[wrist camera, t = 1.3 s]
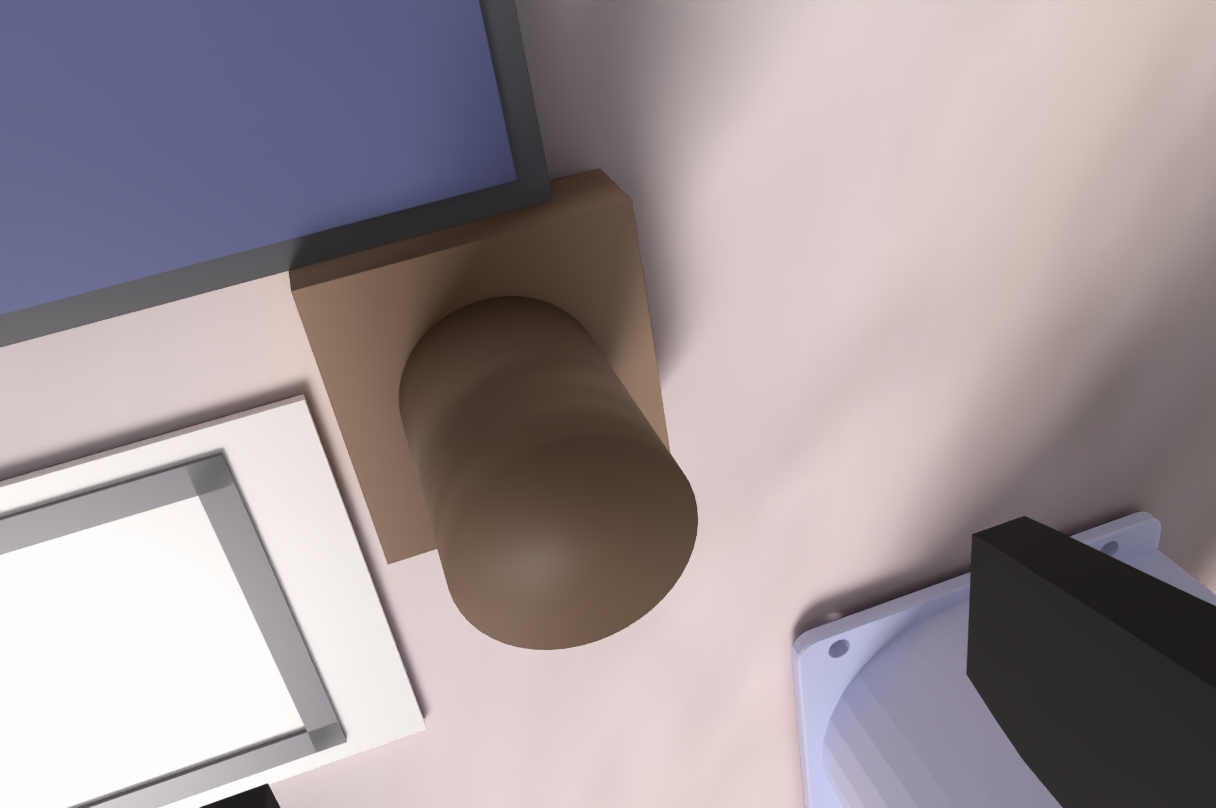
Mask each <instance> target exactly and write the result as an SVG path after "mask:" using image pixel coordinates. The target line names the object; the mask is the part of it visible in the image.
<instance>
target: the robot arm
mask: <svg viewBox="0 0 1216 808" xmlns="http://www.w3.org/2000/svg"><path fill="white" fill-rule="evenodd" d="M1161 530H1162V528H1161V523H1160V521H1159V520H1158V519H1156V518H1155V517H1154V516H1153V515H1151V514H1150V513H1148V512H1145V511H1142V512H1137V513H1134V514H1131V515H1128V516H1125V517H1122V518H1120V519H1117V520H1114V521H1111V522H1108V523H1106V524H1103V525H1100V526H1097V527H1095V528H1092V529H1089V530H1086V531H1083V532H1081V533H1078V534H1075V535H1072V536H1067V535H1065V534H1063V533H1061V532H1059V531H1056V530H1054V529H1052V528H1050V527H1048V526H1046V525H1043V524H1041V523H1039V522H1037V521H1034V520H1032V519H1030V518H1028V517H1025V516H1023V517H1020V518H1017V519H1014V520H1012V521H1009V522H1006V523H1003V524H1000V525H997V526H995V527H992V528H989V529H986V530H983V531H980V532H978V533H975V534H972V549H971V572H969V573H966V574H964V575H961V576H958V577H955V578H952V579H950V580H947V581H944V582H941V583H939V584H936V585H933V586H930V587H927V588H925V589H922V590H919V591H916V592H913V593H911V594H908V595H905V596H902V597H900V598H897V599H894V600H891V601H888V602H886V603H883V604H880V605H877V606H874V607H872V608H869V609H866V610H863V611H861V612H858V613H855V614H852V615H849V616H847V617H844V618H841V619H838V620H835V621H833V622H830V623H827V624H824V625H822V626H819V627H816V628H813V629H810V630H808V631H806V632H804V633H803V634H801V635H800V636H799V637H798V638H797V639H796V641H795V643H794V644H793V646H792V652H791V655H792V666H793V678H794V689H795V701H796V712H797V724H798V735H799V747H800V758H801V770H802V781H803V793H804V805H805V808H1216V595H1215V594H1214V593H1212V592H1211V591H1210V590H1209V589H1207V588H1206V587H1205V586H1204V585H1202V584H1201V583H1200V582H1199V581H1197V580H1196V579H1195V578H1194V577H1192V576H1191V575H1190V574H1189V573H1187V572H1186V571H1185V570H1184V569H1182V568H1181V567H1180V566H1179V565H1177V564H1176V563H1175V562H1174V561H1172V560H1171V559H1170V558H1169V557H1167V556H1166V555H1165V554H1164V553H1162V552H1161V551H1160V550H1158V549H1159V542H1160V536H1161ZM836 641H837V642H836ZM835 642H836V643H835ZM833 643H834V644H833ZM832 644H833V645H832ZM199 808H280V806H279V804H278V802H277V800H276V798H275V796H274V794H273V792H272V791H271V789H270V787H269V785H268V783H267V784H264V785H261V786H258V787H255V788H253V789H250V790H247V791H244V792H241V793H238V794H236V795H233V796H230V797H227V798H224V799H221V800H219V801H216V802H213V803H210V804H207V805H204V806H202V807H199Z"/></svg>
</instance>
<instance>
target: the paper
mask: <svg viewBox="0 0 1216 808" xmlns="http://www.w3.org/2000/svg"><path fill="white" fill-rule="evenodd" d="M423 730H426V724H425V721H424V718H423V715H422V713H421V710H420V707H419V704H418V702H417V699H416V696H415V694H414V691H413V688H412V685H411V683H410V680H409V677H408V675H407V672H406V669H405V667H404V664H403V661H402V658H401V656H400V653H399V650H398V648H397V645H396V642H395V639H394V637H393V634H392V631H391V629H390V626H389V623H388V620H387V618H386V615H385V612H384V610H383V607H382V604H381V602H380V599H379V596H378V593H377V591H376V588H375V585H374V583H373V580H372V577H371V574H370V572H369V569H368V566H367V564H366V561H365V558H364V555H363V553H362V550H361V547H360V545H359V542H358V539H357V537H356V534H355V531H354V528H353V526H352V523H351V520H350V518H349V515H348V512H347V509H346V507H345V504H344V501H343V499H342V496H341V493H340V490H339V488H338V485H337V482H336V480H335V477H334V474H333V472H332V469H331V466H330V463H329V461H328V458H327V455H326V453H325V450H324V447H323V444H322V442H321V439H320V436H319V434H318V431H317V428H316V425H315V423H314V420H313V417H312V415H311V412H310V409H309V407H308V404H307V401H306V398H305V396H304V394H302V395H298V396H295V397H291V398H288V399H284V400H281V401H278V402H274V403H271V404H267V405H264V406H260V407H257V408H253V409H250V410H246V411H243V412H239V413H236V414H232V415H229V416H225V417H222V418H218V419H215V420H212V421H208V422H205V423H201V424H198V425H194V426H191V427H187V428H184V429H180V430H177V431H173V432H170V433H166V434H163V435H159V436H156V437H152V438H149V439H146V440H142V441H139V442H135V443H132V444H128V445H125V446H121V447H118V448H114V449H111V450H107V451H104V452H100V453H97V454H93V455H90V456H86V457H83V458H79V459H76V460H73V461H69V462H66V463H62V464H59V465H55V466H52V467H48V468H45V469H41V470H38V471H34V472H31V473H27V474H24V475H20V476H17V477H13V478H10V479H7V480H3V481H0V808H199V807H202V806H204V805H207V804H210V803H213V802H216V801H219V800H221V799H224V798H227V797H230V796H233V795H236V794H238V793H241V792H244V791H247V790H250V789H253V788H255V787H258V786H261V785H264V784H267V783H268V785H269V784H272V783H275V782H278V781H281V780H284V779H286V778H289V777H292V776H295V775H298V774H301V773H303V772H306V771H309V770H312V769H315V768H318V767H321V766H323V765H326V764H329V763H332V762H335V761H338V760H340V759H343V758H346V757H349V756H352V755H355V754H357V753H360V752H363V751H366V750H369V749H372V748H374V747H377V746H380V745H383V744H386V743H389V742H391V741H394V740H397V739H400V738H403V737H406V736H408V735H411V734H414V733H417V732H420V731H423Z"/></svg>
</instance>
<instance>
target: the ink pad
mask: <svg viewBox="0 0 1216 808" xmlns="http://www.w3.org/2000/svg"><path fill="white" fill-rule="evenodd" d="M552 200H553V197H552V192H551V187H550V182H549V177H548V171H547V166H546V161H545V156H544V151H543V146H542V141H541V136H540V130H539V125H538V120H537V115H536V110H535V105H534V100H533V94H532V89H531V84H530V79H529V74H528V69H527V64H526V59H525V53H524V48H523V43H522V38H521V33H520V28H519V23H518V18H517V12H516V7H515V2H514V0H0V347H4V346H7V345H11V344H15V343H19V342H22V341H26V340H30V339H34V338H37V337H41V336H45V335H49V334H52V333H56V332H60V331H64V330H68V329H71V328H75V327H79V326H83V325H86V324H90V323H94V322H98V321H101V320H105V319H109V318H113V317H116V316H120V315H124V314H128V313H131V312H135V311H139V310H143V309H146V308H150V307H154V306H158V305H161V304H165V303H169V302H173V301H176V300H180V299H184V298H188V297H192V296H195V295H199V294H203V293H207V292H210V291H214V290H218V289H222V288H225V287H229V286H233V285H237V284H240V283H244V282H248V281H252V280H255V279H259V278H263V277H267V276H270V275H274V274H278V273H282V272H285V271H289V270H293V269H297V268H300V267H304V266H308V265H312V264H315V263H319V262H323V261H327V260H331V259H334V258H338V257H342V256H346V255H349V254H353V253H357V252H361V251H364V250H368V249H372V248H376V247H379V246H383V245H387V244H391V243H394V242H398V241H402V240H406V239H409V238H413V237H417V236H421V235H424V234H428V233H432V232H436V231H439V230H443V229H447V228H451V227H455V226H458V225H462V224H466V223H470V222H473V221H477V220H481V219H485V218H488V217H492V216H496V215H500V214H503V213H507V212H511V211H515V210H518V209H522V208H526V207H530V206H533V205H537V204H541V203H545V202H548V201H552Z"/></svg>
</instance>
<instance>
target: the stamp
mask: <svg viewBox="0 0 1216 808" xmlns="http://www.w3.org/2000/svg"><path fill="white" fill-rule="evenodd" d="M550 187H551V192H552V197H553V200H552V201H548V202H545V203H541V204H537V205H533V206H530V207H526V208H522V209H518V210H515V211H511V212H507V213H503V214H500V215H496V216H492V217H488V218H485V219H481V220H477V221H473V222H470V223H466V224H462V225H458V226H455V227H451V228H447V229H443V230H439V231H436V232H432V233H428V234H424V235H421V236H417V237H413V238H409V239H406V240H402V241H398V242H394V243H391V244H387V245H383V246H379V247H376V248H372V249H368V250H364V251H361V252H357V253H353V254H349V255H346V256H342V257H338V258H334V259H331V260H327V261H323V262H319V263H315V264H312V265H308V266H304V267H300V268H297V269H293V270H289V277H290V285H291V292H292V295H293V298H294V301H295V303H296V306H297V309H298V312H299V315H300V317H301V320H302V323H303V326H304V329H305V332H306V334H307V337H308V340H309V343H310V346H311V349H312V351H313V354H314V357H315V360H316V363H317V365H318V368H319V371H320V374H321V377H322V380H323V382H324V385H325V388H326V391H327V394H328V396H329V399H330V402H331V405H332V408H333V411H334V413H335V416H336V419H337V422H338V425H339V428H340V430H341V433H342V436H343V439H344V442H345V444H346V447H347V450H348V453H349V456H350V459H351V461H352V464H353V467H354V470H355V473H356V476H357V478H358V481H359V484H360V487H361V490H362V492H363V495H364V498H365V501H366V504H367V507H368V509H369V512H370V515H371V518H372V521H373V523H374V526H375V529H376V532H377V535H378V538H379V540H380V543H381V546H382V549H383V552H384V555H385V557H386V560H387V563H388V564H391V563H394V562H397V561H400V560H403V559H406V558H410V557H413V556H416V555H419V554H422V553H425V552H428V551H431V550H435V549H438V553H439V556H440V560H441V563H442V567H443V571H444V574H445V578H446V581H447V585H448V588H449V591H450V594H451V596H452V598H453V601H454V603H455V604H456V606H457V607H458V609H459V611H460V612H461V613H462V615H463V616H464V617H465V618H466V619H467V620H468V621H469V622H470V623H471V624H472V625H473V626H474V627H476V628H477V629H478V630H479V631H481V632H482V633H484V634H486V635H488V636H489V637H491V638H493V639H495V640H498V641H500V642H503V643H505V644H508V645H512V646H516V647H520V648H527V649H535V650H554V649H566V648H571V647H576V646H581V645H585V644H588V643H592V642H595V641H598V640H601V639H603V638H605V637H608V636H610V635H613V634H615V633H617V632H619V631H620V630H622V629H624V628H626V627H628V626H629V625H631V624H632V623H634V622H636V621H637V620H639V619H640V618H641V617H643V616H644V615H645V614H647V613H648V612H649V611H650V610H652V609H653V608H654V607H655V606H656V605H657V604H658V603H659V602H660V601H661V600H662V599H663V598H664V597H665V596H666V595H667V593H668V592H669V591H670V590H671V589H672V588H673V586H674V585H675V583H676V582H677V580H678V579H679V578H680V576H681V575H682V573H683V571H684V569H685V567H686V565H687V563H688V561H689V559H690V556H691V553H692V551H693V548H694V544H695V540H696V536H697V526H698V513H697V505H696V500H695V496H694V493H693V490H692V488H691V485H690V483H689V481H688V480H687V478H686V476H685V475H684V473H683V471H682V470H681V469H680V467H679V466H678V464H677V463H676V461H675V460H674V458H673V457H672V455H671V454H670V448H669V441H668V434H667V428H666V421H665V415H664V408H663V402H662V395H661V388H660V382H659V375H658V369H657V362H656V356H655V349H654V342H653V336H652V329H651V323H650V316H649V310H648V303H647V296H646V290H645V283H644V277H643V270H642V264H641V257H640V250H639V244H638V237H637V231H636V224H635V218H634V211H633V204H632V199H631V198H630V197H629V196H628V195H626V194H625V193H624V192H623V191H622V190H621V189H620V188H619V187H618V186H617V185H616V184H615V183H614V182H613V181H612V180H611V179H610V178H609V177H608V176H607V175H606V174H605V173H604V172H603V171H602V170H601V169H600V168H599V169H596V170H592V171H588V172H584V173H580V174H577V175H573V176H569V177H565V178H561V179H557V180H554V181H550Z"/></svg>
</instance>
